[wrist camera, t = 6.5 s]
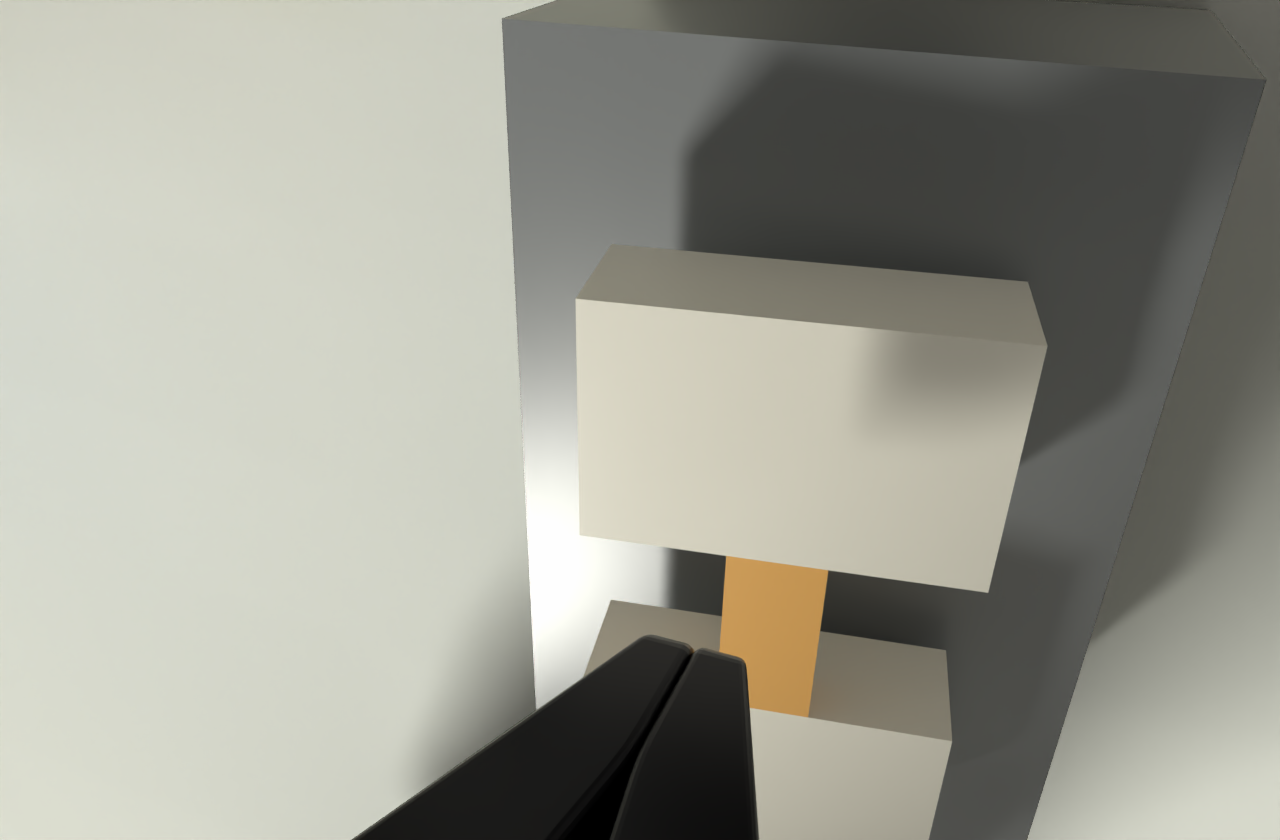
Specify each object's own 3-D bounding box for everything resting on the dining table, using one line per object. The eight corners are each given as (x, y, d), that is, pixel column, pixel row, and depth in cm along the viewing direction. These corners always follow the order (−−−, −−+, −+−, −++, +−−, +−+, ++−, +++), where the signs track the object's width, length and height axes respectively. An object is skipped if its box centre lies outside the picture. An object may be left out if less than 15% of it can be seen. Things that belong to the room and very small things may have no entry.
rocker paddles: (912, 800, 13) (913, 897, 12) (610, 747, 14) (584, 833, 13) (1027, 282, 10) (1047, 346, 8) (612, 244, 10) (575, 298, 9)
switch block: (1017, 705, 17) (1005, 908, 14) (628, 606, 19) (538, 764, 16) (1211, 10, 12) (1266, 79, 8) (637, -27, 14) (501, 18, 10)
